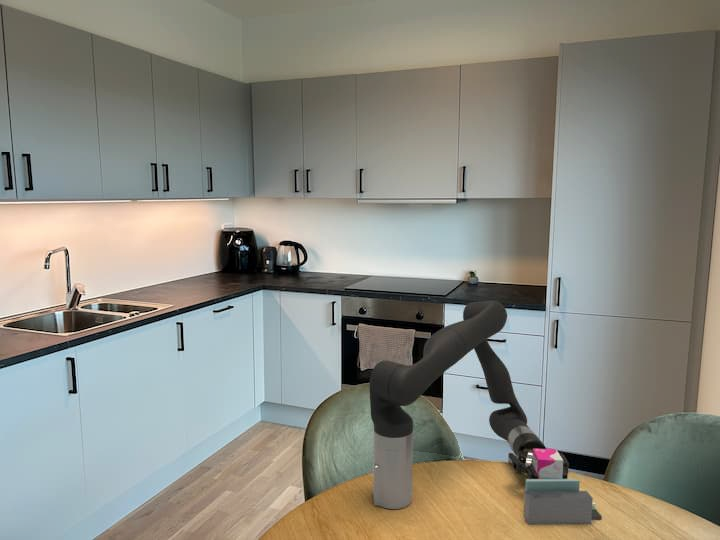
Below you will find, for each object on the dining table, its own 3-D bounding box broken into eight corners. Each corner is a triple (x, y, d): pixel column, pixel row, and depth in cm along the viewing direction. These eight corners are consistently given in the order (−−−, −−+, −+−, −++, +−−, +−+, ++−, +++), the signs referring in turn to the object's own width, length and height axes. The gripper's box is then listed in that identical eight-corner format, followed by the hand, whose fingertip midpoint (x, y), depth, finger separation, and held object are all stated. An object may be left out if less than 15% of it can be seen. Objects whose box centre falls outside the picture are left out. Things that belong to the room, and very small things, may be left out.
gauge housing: (528, 524, 116) (529, 498, 115) (513, 498, 126) (514, 474, 126) (604, 523, 116) (606, 498, 115) (583, 497, 127) (585, 474, 126)
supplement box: (554, 493, 127) (557, 448, 126) (561, 507, 121) (564, 460, 120) (529, 491, 128) (532, 447, 126) (535, 505, 122) (538, 459, 120)
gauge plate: (525, 510, 120) (527, 481, 119) (524, 507, 121) (525, 479, 120) (595, 509, 121) (597, 481, 120) (593, 507, 122) (595, 478, 121)
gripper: (499, 432, 137) (520, 463, 121) (554, 432, 138) (582, 463, 121) (498, 459, 138) (518, 494, 122) (553, 459, 138) (580, 494, 122)
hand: (550, 478), depth 121 cm, fingers closed on supplement box, 6 cm apart
